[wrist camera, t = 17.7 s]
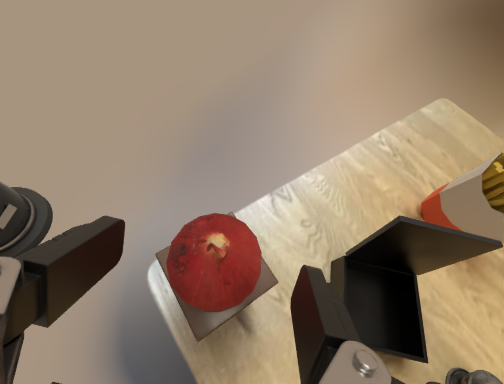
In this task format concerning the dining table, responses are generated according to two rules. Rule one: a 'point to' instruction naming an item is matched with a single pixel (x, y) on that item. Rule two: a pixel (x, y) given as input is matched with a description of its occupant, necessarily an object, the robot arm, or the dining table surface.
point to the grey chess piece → (471, 377)
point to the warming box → (382, 307)
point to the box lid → (419, 246)
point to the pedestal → (211, 320)
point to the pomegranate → (214, 262)
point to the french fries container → (471, 201)
